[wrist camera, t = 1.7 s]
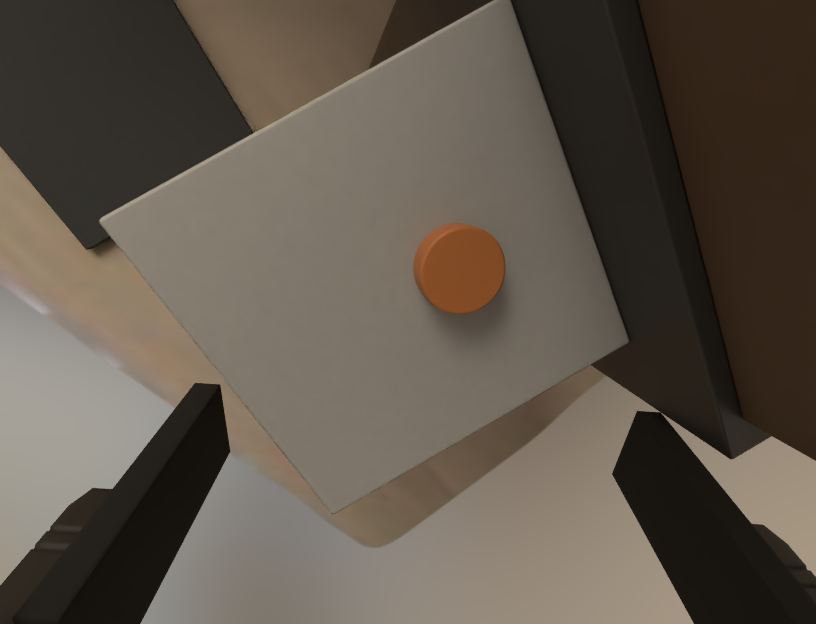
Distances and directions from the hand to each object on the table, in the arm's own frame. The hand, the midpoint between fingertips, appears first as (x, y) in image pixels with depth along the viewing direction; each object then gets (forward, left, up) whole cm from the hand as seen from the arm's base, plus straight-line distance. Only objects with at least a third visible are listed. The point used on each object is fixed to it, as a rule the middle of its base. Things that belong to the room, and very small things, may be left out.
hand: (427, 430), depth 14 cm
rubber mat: (-19, -3, -20) cm, 28 cm away
